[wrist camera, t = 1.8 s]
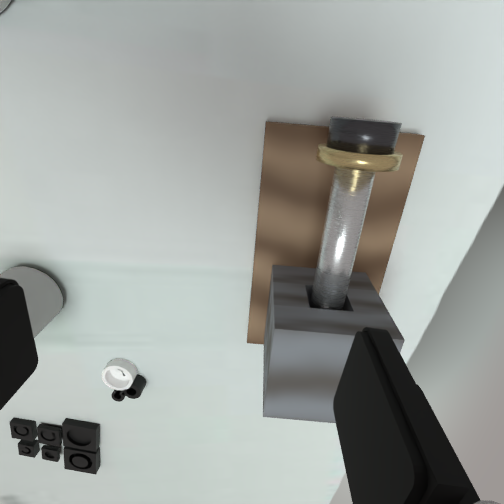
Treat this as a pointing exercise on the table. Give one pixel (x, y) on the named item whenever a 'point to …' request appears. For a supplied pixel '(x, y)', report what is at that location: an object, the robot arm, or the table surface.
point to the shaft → (349, 198)
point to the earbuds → (78, 425)
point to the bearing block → (304, 267)
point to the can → (37, 295)
